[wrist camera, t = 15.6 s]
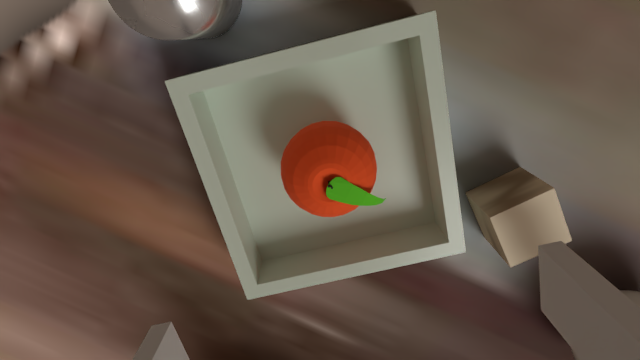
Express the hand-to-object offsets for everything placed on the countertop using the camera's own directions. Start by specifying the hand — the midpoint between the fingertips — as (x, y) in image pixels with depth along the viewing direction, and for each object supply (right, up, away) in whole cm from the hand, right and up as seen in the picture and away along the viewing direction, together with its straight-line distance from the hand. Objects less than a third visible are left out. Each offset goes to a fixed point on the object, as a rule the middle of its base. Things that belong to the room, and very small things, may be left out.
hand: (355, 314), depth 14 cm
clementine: (0, +7, +18) cm, 19 cm away
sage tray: (-1, +7, +18) cm, 20 cm away
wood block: (+15, +3, +20) cm, 25 cm away
